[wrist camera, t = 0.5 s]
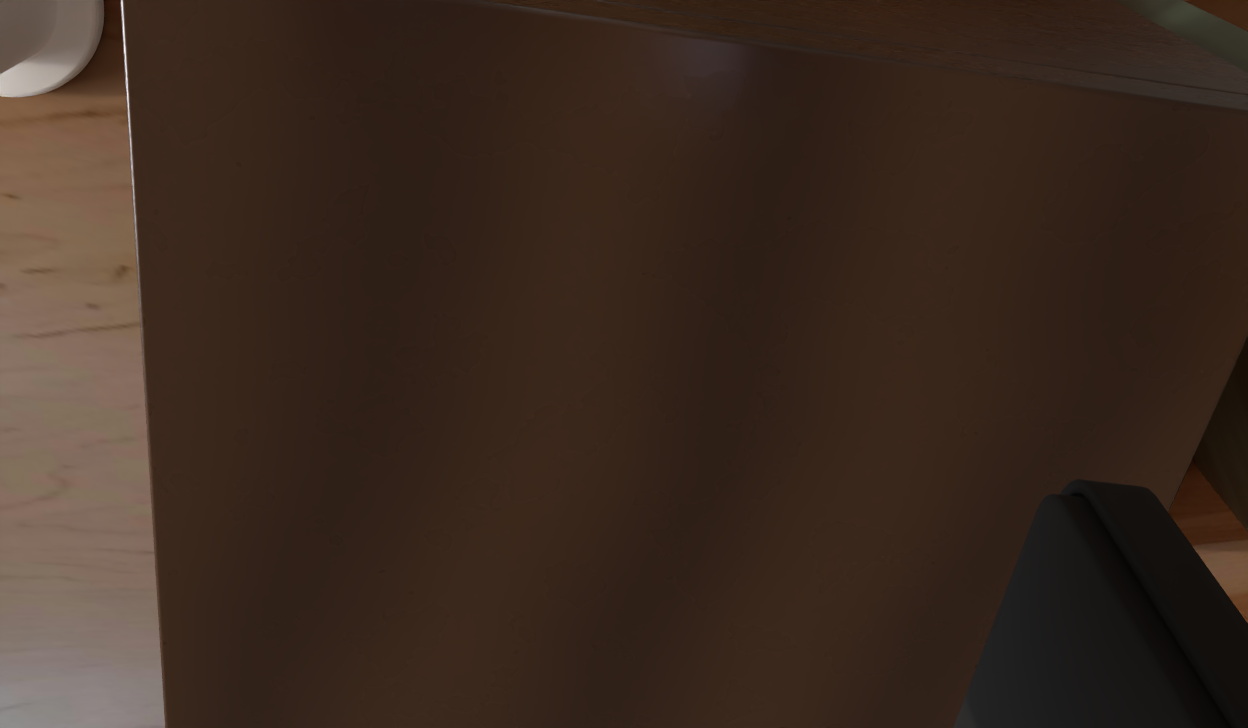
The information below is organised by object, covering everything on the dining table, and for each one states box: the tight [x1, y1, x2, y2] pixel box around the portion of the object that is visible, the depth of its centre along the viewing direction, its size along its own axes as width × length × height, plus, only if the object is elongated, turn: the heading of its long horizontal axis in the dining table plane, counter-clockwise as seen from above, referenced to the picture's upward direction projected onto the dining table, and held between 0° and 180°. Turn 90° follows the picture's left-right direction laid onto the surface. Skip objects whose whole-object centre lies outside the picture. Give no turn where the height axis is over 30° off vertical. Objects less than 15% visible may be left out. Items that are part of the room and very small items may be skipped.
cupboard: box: [120, 0, 1248, 728], centre depth 34 cm, size 18×26×24 cm
